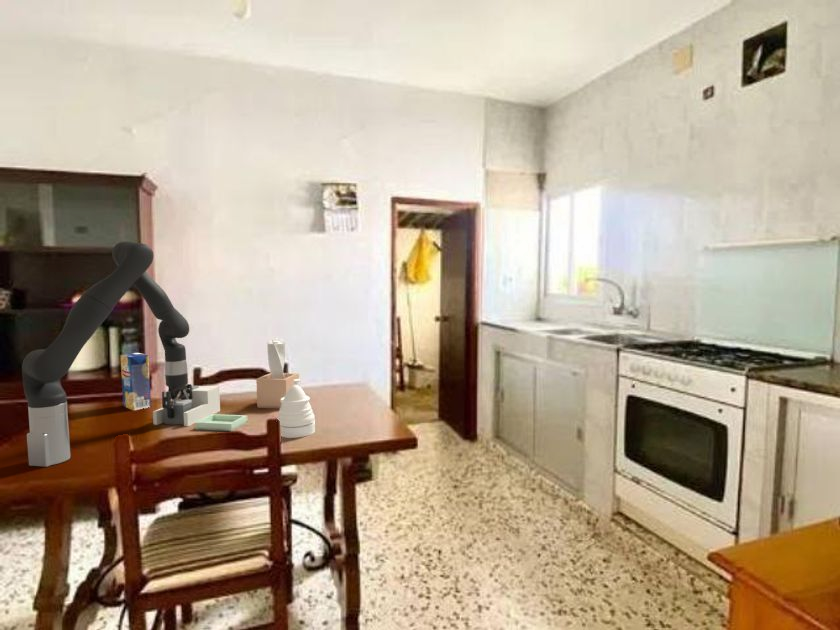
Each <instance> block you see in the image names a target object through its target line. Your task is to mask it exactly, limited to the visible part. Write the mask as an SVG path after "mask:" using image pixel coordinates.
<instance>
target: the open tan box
mask: <svg viewBox="0 0 840 630" xmlns="http://www.w3.org/2000/svg"><path fill="white" fill-rule="evenodd" d="M283 373H284V379H270V376H271V372H270V373H268V374H265V375H262V376H260V377H258V378H255V380H256V383H255V384H256V402H257V403H256V405H257V407H256V408H259V409H260V408H262V409H280V408H281V405H282V403H281V402H280V399H281V398H283V397H285V395H286V393H287V391H288V389H289V388H290V387H291V386H292V385H295V384H294V382H293V380H294V379H300V374H299V373H293V372H292V373H290V372H288V376H289V377H287V372H283ZM298 386H300V384H299V385H298Z"/></svg>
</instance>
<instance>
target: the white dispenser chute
mask: <svg viewBox="0 0 840 630" xmlns="http://www.w3.org/2000/svg"><path fill="white" fill-rule="evenodd" d="M188 396H189V393H188ZM192 396H193V398H192V399H190V400H192V402H191V404H192V409H191V410H189V411H186V412H184V424H183V426H184V427H189V426H192V425H193V424H194V425H195V422H197V421H199V420H201V419H204V418H206V417H208V416H210V415H212V414H217V413H219V412H221V401H220V400H221V398H220V396H221V395H220V386H212V385H211V386H209V385H206V386H205V385H192ZM152 420H153V421H152V422H153V424H152V425H153V426H158V425H160V424H162V423H164V408H163V407H161V408H158V409H156V410H153V411H152Z"/></svg>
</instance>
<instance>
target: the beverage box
mask: <svg viewBox="0 0 840 630" xmlns="http://www.w3.org/2000/svg"><path fill="white" fill-rule="evenodd" d="M149 363H150V362H149V354H145V353H140V352H132V353H123V354H120V370H121V372H120V373H121V388H122V391H121V392H122V405H123V407H125V408H127V409H129V410H131V411H138V410H142V409H143V408H144V409H148V407H149V408H152V405H151V404H152V402H151V385H150V384H151V383H150V367H149V366H150V364H149Z"/></svg>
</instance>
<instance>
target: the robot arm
mask: <svg viewBox="0 0 840 630" xmlns="http://www.w3.org/2000/svg"><path fill="white" fill-rule="evenodd" d="M111 253H112V259H113V261H114V262H115V265H116V266H117V267H116V268H115V270H113V272H111V273H110V274H109V275H108V276H107V277H104V278H103V279H101V280H100V281H98V282H96V283H95V284H93V285H92V286H90V287H89V288H88V289H86V290H85V291H84V292H83V293H82V295H81V296H80V297H79V299H77V301H76V302H75V303H74V304H73V306H72V307H71V308H70V311H69V313H68V315H67V318H66V320H65V322H64V323H65V324H64V326H63V328H62V330H61V331H60V333H59V335H58V336H57V337H56V338H55V339H54V341H52V342H51V344H50V345H49V346H48V347H47V348H46V349H45V348H43V349H42V348H41V349H35V350H32V351H30V352H29V353H28V354H26V355H25V357H24V358H23V361H22V364H21V374H22V384H23V392H24V396H25V399H26V401H27V409H28V422H29V423H28V425H29V432H28V433H26V443H27V456H28V466H31V467H33V466H34V467H50V466H53V465H57V464H61V463H63V462H66V461H68V460H70V458H71V446H70V445H71V444H70V443H71V442H70V429H69V416H68V414H69V412H68V401H67V393H66V391H65V390H64V388H63V386H62V383H61V379H62V378H63V377H65V375H66V374H67V373H68V372H69V370H70V369H71V367H72V365H73V363H74V362H75V360H76V359H77V357H78V356H79V353H80V352H81V350H83V347H85V345H86V343H88V342H89V340H90V339H91V337H92V336H93V335H94V334H95V332H96V331H97V330H98V329H99V327H100V326H101V325H102V324H103V323H104V322H105V321H106V319H107V318H108V317H109V315H110V314H111V312H112V311H113V310H114V308H115V307H116V305H117V304H119V302H120V301H121V299H122V298H123V297H124V295H126V293H127V292H128V290H129V289H130V288H131V287H132V286H134V287H135V288H136V289H137V290H138V292H139V293H140V295H141V296H142V298H143V300H144V301H145V303H146V304H147V307H148V308H149V309H150V311H151V313H152V315H153V317H155V319H157V320H159V321H160V322H159V325H158V327H157V329H158V336H159V338H160V341H161V344H162V347H163V350H164V362H165V363H164V376H165V377H164V379H165V386H166V387H168V390H167V391H162V392H161V401H162V402H161V405H162V406H161V408H167V416H168V418H169V419H173V418H174V405H175V403H177V401H178V400H179V399H181V400H190V399H192V398H193V396H192V386H193V384H191V383H190V384H189V375H188V363H187V353H186V351H187V350H186V347H185V345H184V344H182V343H179V342H178V341H177V339H182V338H186V337H187V336H188V335H189V333H190V324H189V323H188V321H187V319H186V317H184V316H183V314H181V313H180V312H179V311H178V310H177V309H176V308H175V307H174V305H173V303H172V301H171V299H170V297H169V296H168V295H167V293H166V292H165V290H164V289H163V288H162V287H161V286H160V285H159V284H158V283H157V282H156V281H155V280H154V279H153V278H152V277H151V276H150V274H149V273H148V272H147V270H148V269H149V268H150V267H151V265H152V264H153V262H154V261H153V260H154V257H155V256H154V251H153V249H152V247H150V246H149V245H147V244H145V243H141V242H136V241H135V242H134V241H127V240H126V241H120V242H118V243H116V244H115V245H114V246H113V249H112V251H111ZM188 393H189V396H188ZM171 399H172V400H171ZM166 402H167V405H166ZM170 403H172V404H171V405H170Z"/></svg>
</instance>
